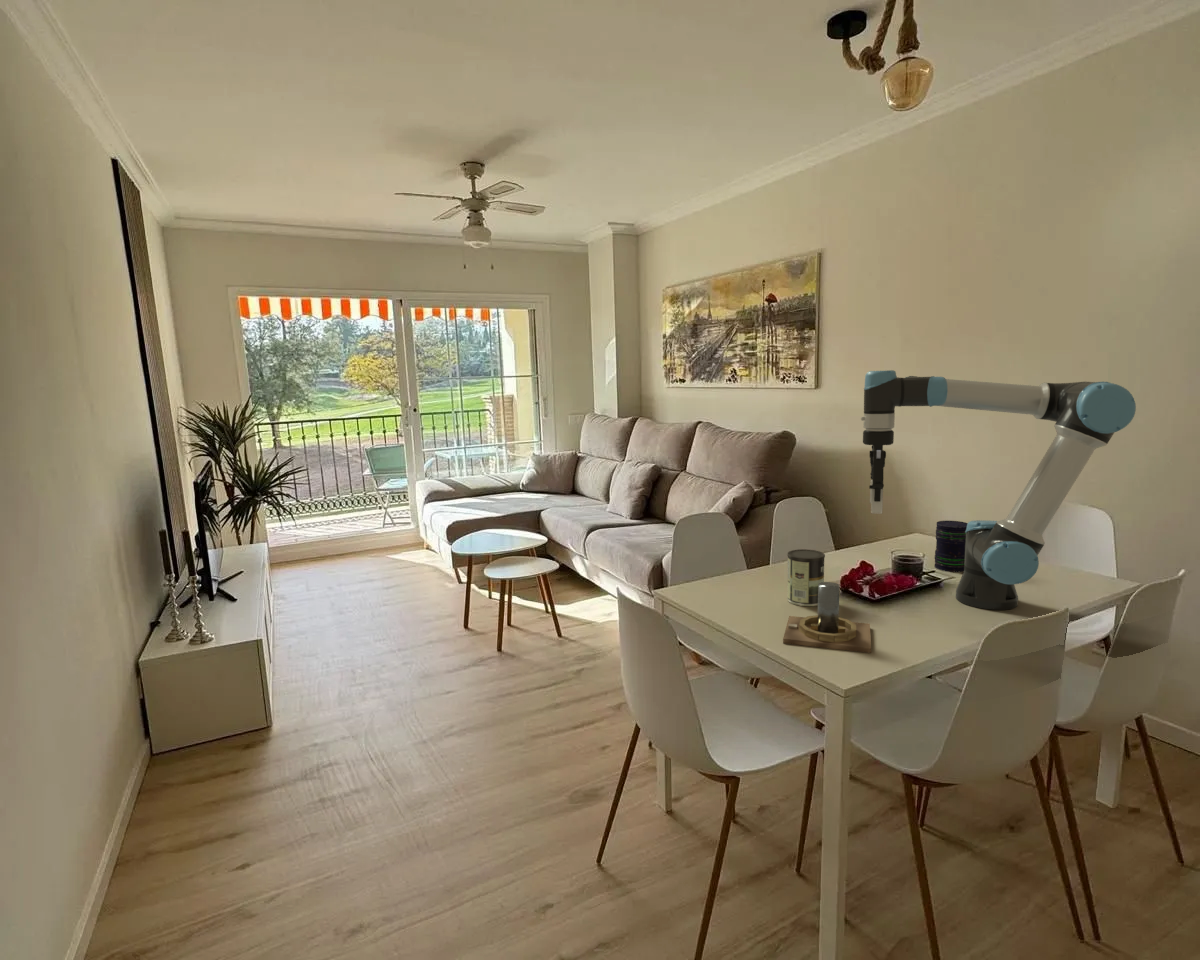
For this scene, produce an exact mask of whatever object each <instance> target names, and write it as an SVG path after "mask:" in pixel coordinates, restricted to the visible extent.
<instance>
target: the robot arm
mask: <svg viewBox="0 0 1200 960" xmlns="http://www.w3.org/2000/svg"><path fill="white" fill-rule="evenodd" d="M864 375H865V376H864V377H865V378H864V388H863V393H864V394H863V416H861V417H860V420H861V421H863V428H864V430H863V431H862V443H863V445H866V446H871V450H869V463H870V483H869V486H868V487H869V504H871V505H870V506H871V507H870V513H871V514H876V515H877V514H878V515H879V514H880V515H882V514H883V503H884V486H885V485H884V468H885V466H886V458H887V451H886V450H884V446H891V445H893V444H894V440H895V439H894V438H895V436H894V434H895V432H894V430H893V429H894V428H895V419H896V417H895V414H896V413H895V410H896V409H895V408H896V407H900V408H901V407H945V408H946V407H947V408H956V409H966V410H976V411H977V410H979V411H985V412H986V411H989V412H996V413H997V412H1001V413H1008V414H1009V413H1010V414H1022V415H1030V416H1031V415H1032V416H1033V417H1034V418H1035V419H1036V420H1044V421H1045V420H1046V421H1051V422H1055V423H1054V429H1055V431H1056V435H1055V437H1054V438H1053V440H1052V442H1051V444H1050V445H1049V447H1048V448H1047V450H1046V452H1045V454H1044V455H1043V457H1042V459H1041V460H1040V462H1039V463H1038V465H1037V467H1036V469H1035V470H1034V471H1033V473H1032V475H1031V477H1030V478H1029V480H1028V481H1027V483H1026V485H1025V487H1024V488H1023V490H1022V492H1021V493H1020V495H1019V496H1018V498H1017V501H1016V502H1015V503H1014V505H1013V507H1012V509H1011V510H1010V512H1009V514H1008V516H1007V517H1006V518H1004V519H1000V520H988V519H987V520H982V519H981V520H980V519H979V520H970V521H968V522H967V523H968V524H967V528H966V531H965V533H966V544H965V563H964V572H962V573H963V574H962V576H961V578H960V580H959V582H958V584H957V587H956V590H955V599H956V600H957V601H958V602H961V603H963V604H964V605H966V606H970V607H974V608H980V609H985V610H998V611H1000V610H1001V611H1002V610H1003V611H1004V610H1011V609H1015V608H1017V607H1018V604H1019V596H1018V593H1017V588H1016V586H1015V585H1019V584H1022V583H1025V582H1027V581H1029V580H1030V579H1032V578H1033V577H1034V576H1035V575H1036V573H1037V572H1038V569H1039V564H1040V563H1039V562H1040V560H1039V556H1038V555H1039V554H1040V552H1041V551H1042V550H1043V547H1044V546H1045V540H1044V537H1043V535H1044V532H1045V531H1046V530H1047V527H1048V526H1049V525H1050V523H1051V521H1052V519H1053V518H1054V517H1055V515H1056V513H1057V512H1058V510H1059V508H1060V506H1061V505H1062V504H1063V502H1064V501H1065V498H1066V497H1067V495H1069V492H1070V490H1071V489H1072V487H1073V486H1074V484H1075V483H1076V481H1077V480H1078V477H1079V476H1080V474H1081V473H1082V471H1083V469H1084V468H1085V467H1086V465H1087V463H1088V461H1089V460H1090V458H1091V457H1092V455H1093V453H1095V450H1096V449H1099V448H1101V447H1102V448H1103V447H1105V446H1107V445H1108V444H1109V442H1110V440H1111V439H1112V437H1113V435H1114V434H1115V433H1116V432H1119V431H1121V430H1123V429H1125V428H1126V427H1127V426H1128V425H1129V424H1130V423H1131V422H1132V421H1133V419H1134V417H1135V414H1136V410H1137V406H1136V405H1137V404H1136V401H1135V398H1134V397H1133V394H1132V393H1131V392H1130V391H1129V390H1128V389H1127V388H1125V387H1124V386H1122V385H1120V384H1117V383H1113V382H1109V381H1078V382H1077V381H1076V382H1074V381H1073V382H1058V383H1056V382H1055V383H1053V382H1043V383H1041V384H1039V385H1031V384H1029V385H1027V384H1018V383H1017V384H1016V383H1004V382H1002V383H1001V382H988V381H977V380H965V379H964V380H963V379H950V378H945V377H943V376H934V375H933V376H914V375H908V376H905V377H899V376H898V377H897V372H896V371H895V370H892V369H891V370H890V369H889V370H869V371H867V372H866V373H865V374H864Z"/></svg>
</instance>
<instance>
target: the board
mask: <svg viewBox="0 0 1200 960" xmlns="http://www.w3.org/2000/svg"><path fill="white" fill-rule="evenodd" d="M811 624H818V614H817V615H808V616H806V617H805V616H796V615H795V616H794V615H793V616H792V615H788V620H787V623H786V626H785V630H784V633H783V637H782V643H783V644H786V645H787V644H788V645H796V646H803V647H804V646H805V647H813V648H815V647H816V648H820V649H821V648H823V649H832V650H840V651H848V652H849V651H850V652H856V653H857V652H859V653H860V652H861V653H865V654H866V653H868V654H871V653H872V641H871V640H872V639H871V638H872V637H871V623H868V622H867V623H866V622H858V621H857V622H855V621H851V620H849V619H846V618H843V617H839V627H845V633H836V634H831V633H821V632H818V631H815V630H811Z"/></svg>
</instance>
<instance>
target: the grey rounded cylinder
mask: <svg viewBox="0 0 1200 960" xmlns="http://www.w3.org/2000/svg"><path fill="white" fill-rule="evenodd" d="M817 615H818V624H811V630H815V631H818V632H821V633H831V634H836V633H845V627H839V616H840V584H838V583H836V582H833V581H824V582H821V583H819V584H818V606H817Z"/></svg>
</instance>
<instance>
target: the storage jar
mask: <svg viewBox="0 0 1200 960" xmlns="http://www.w3.org/2000/svg"><path fill="white" fill-rule="evenodd" d="M967 524H968V522H964V521H960V520H958V521H957V520H939V521H937V522H936V527H935V528H936V529H935V540H936V541H935V542H936V543H935V551H934V558H933V559H934V568H935V569H937V570H939V571H942V572H948V573H964V563H965V544H966V533H965V531H966V528H967Z"/></svg>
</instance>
